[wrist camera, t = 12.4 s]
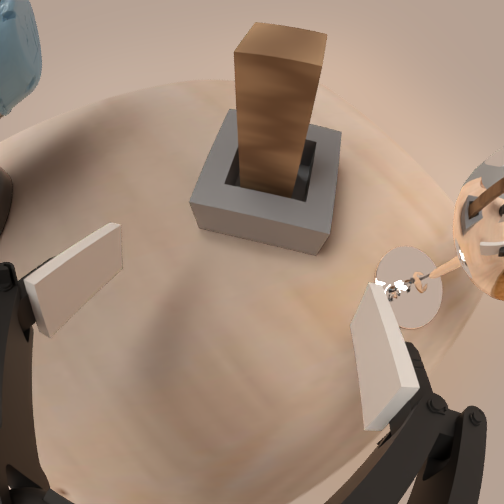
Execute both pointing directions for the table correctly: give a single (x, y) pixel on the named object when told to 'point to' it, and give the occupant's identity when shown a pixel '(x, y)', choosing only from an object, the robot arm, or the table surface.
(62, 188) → the table surface
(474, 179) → the wineglass
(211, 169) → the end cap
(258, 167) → the wooden block
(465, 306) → the table surface
